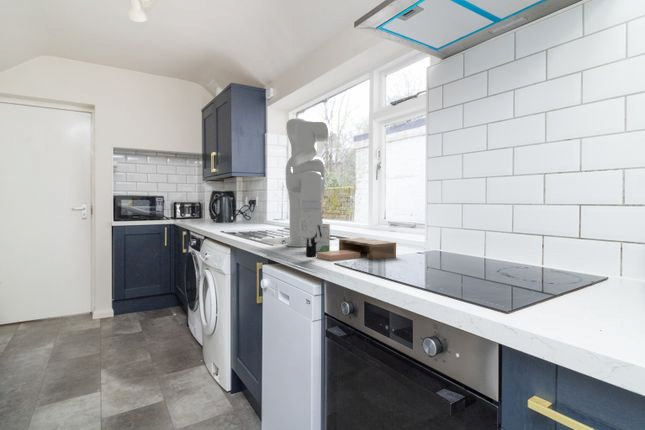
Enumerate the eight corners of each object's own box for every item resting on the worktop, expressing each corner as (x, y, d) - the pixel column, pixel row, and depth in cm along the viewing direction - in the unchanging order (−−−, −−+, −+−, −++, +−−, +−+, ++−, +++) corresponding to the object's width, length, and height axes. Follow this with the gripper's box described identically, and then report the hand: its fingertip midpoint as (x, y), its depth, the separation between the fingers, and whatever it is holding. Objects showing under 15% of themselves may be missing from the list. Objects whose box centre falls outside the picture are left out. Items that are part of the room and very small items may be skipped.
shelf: (338, 252, 146) (339, 238, 145) (359, 250, 152) (360, 237, 152) (373, 259, 127) (373, 244, 127) (395, 257, 133) (396, 242, 133)
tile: (316, 258, 132) (316, 252, 132) (345, 255, 140) (345, 249, 140) (330, 262, 125) (330, 255, 124) (360, 258, 132) (360, 252, 132)
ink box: (309, 251, 148) (309, 223, 147) (310, 249, 153) (310, 223, 153) (329, 251, 147) (329, 224, 147) (330, 250, 152) (330, 223, 152)
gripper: (292, 206, 129) (292, 255, 130) (312, 206, 117) (312, 260, 117) (309, 206, 133) (309, 253, 134) (331, 206, 121) (331, 259, 121)
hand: (311, 256), depth 125 cm, fingers closed
